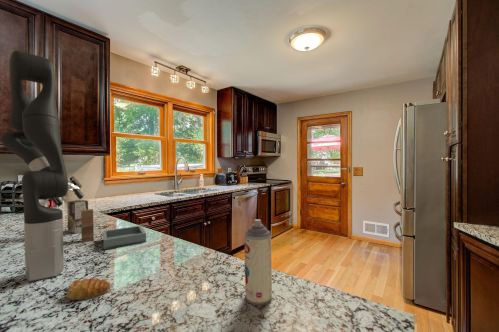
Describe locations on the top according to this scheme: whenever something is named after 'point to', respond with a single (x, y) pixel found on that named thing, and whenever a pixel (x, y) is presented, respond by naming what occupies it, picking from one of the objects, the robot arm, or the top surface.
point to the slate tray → (123, 237)
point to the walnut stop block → (87, 225)
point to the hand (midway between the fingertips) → (71, 201)
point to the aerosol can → (258, 264)
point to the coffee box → (75, 214)
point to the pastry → (87, 288)
